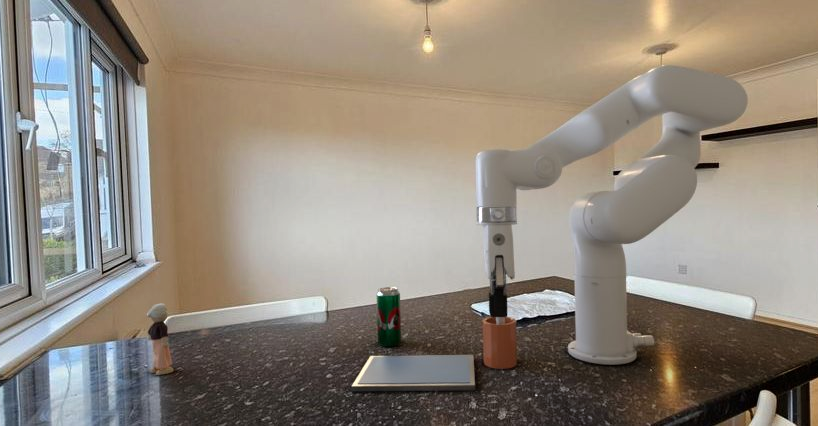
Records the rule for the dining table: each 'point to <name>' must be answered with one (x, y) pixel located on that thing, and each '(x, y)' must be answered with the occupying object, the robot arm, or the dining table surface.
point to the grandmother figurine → (159, 340)
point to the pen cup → (499, 343)
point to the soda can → (388, 317)
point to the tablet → (417, 373)
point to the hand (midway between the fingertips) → (498, 314)
